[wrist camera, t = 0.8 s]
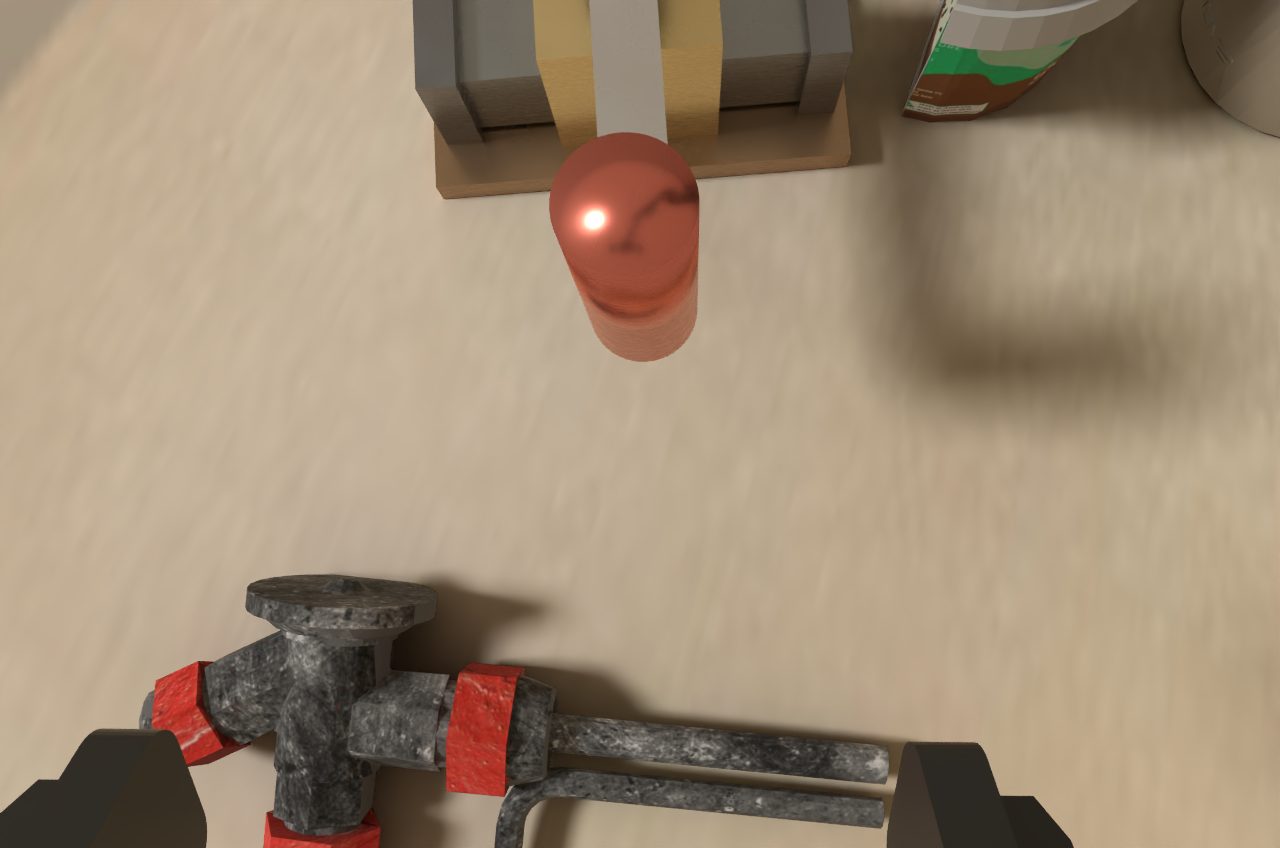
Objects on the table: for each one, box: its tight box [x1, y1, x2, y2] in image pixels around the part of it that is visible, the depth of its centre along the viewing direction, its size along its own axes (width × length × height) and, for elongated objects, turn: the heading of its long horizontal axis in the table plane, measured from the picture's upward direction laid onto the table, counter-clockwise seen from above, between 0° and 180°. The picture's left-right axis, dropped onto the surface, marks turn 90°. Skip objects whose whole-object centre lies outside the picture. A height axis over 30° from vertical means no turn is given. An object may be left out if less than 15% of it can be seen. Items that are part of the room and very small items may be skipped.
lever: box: [549, 0, 699, 362], centre depth 25 cm, size 15×3×9 cm, turn 4°
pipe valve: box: [413, 0, 853, 199], centre depth 35 cm, size 16×8×9 cm, turn 94°
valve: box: [139, 575, 889, 848], centre depth 34 cm, size 6×26×15 cm
